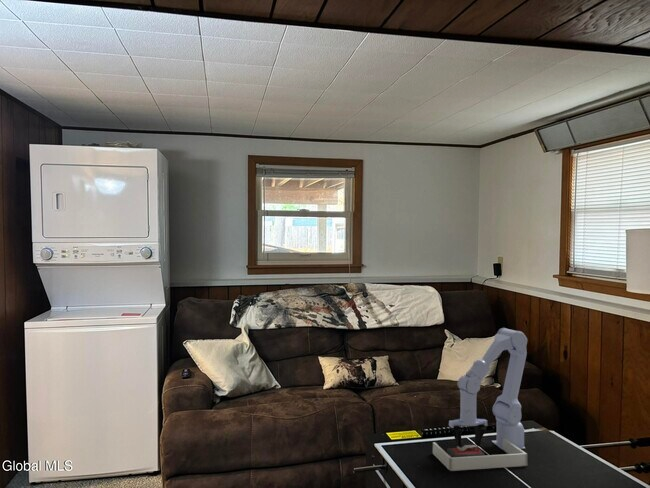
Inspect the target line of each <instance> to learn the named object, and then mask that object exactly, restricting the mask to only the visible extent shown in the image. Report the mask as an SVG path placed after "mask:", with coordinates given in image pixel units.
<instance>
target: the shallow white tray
mask: <svg viewBox="0 0 650 488" xmlns="http://www.w3.org/2000/svg"><path fill="white" fill-rule="evenodd" d="M503 448H504V450H503V451H504V452H505V454H503V453H502V454H491V455H490V454H489V455H488V454H487V455H485V454H484V456H469V457H452V458H451V457H450V456H449V455H448V454H447V451H445V450H444V448H442V447H441V446H439V444H438V443H437V442H436V441H434V442H432V455H433V456H435V458H436V459H438V460H439V461H440V463H441V464H443V466H444V467H446V468H447V470H449V471H450V472H456V471H457V472H458V471H468V470H482V469H483V470H485V469H487V470H488V469H497V468H499V469H500V468H502V469H503V468H513V467H514V468H515V467H516V468H517V467H528V453H527V452H525V451H524V450H523V449H519V448H518V447H516V446H515V445H513V444H512V443H511V442H509V441H508V440H506V439H503Z"/></svg>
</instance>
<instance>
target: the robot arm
mask: <svg viewBox="0 0 650 488" xmlns="http://www.w3.org/2000/svg"><path fill="white" fill-rule="evenodd" d="M527 344H528V338H527V336H526V335H525V333H524V332H523V331H520V330H514V329H509V328H506V327H502V328H499V329H498V331H497V333H496V334H495V335H494V340H493V342H492V343H491V345H490V346H489V348H488V349H487V350H486V352H485V353H484V355H483V356H482V357H481V359H476V360H474V361H473V363H472V366H471V367H470V368H469V369H468V371H466V372H465V374H463V375H461V376H460V377H459V379H458V380H457V382H456V385H457V387H458V389H459V393H460V399H459V400H460V403H459V405H460V415H459V418H457V419H453V420H448V426H449V427H450V429H451V432H452V434H453V436H454V440H455V446H456V447H457V446H459V447H460V448H462V447H461V446H462V434H463V430H462V429H461V427H464V428H465V427H473V429H474V445H475V446H477V447H481V443H482V439H483V436H484V435H485V433H486V432H487V427H488V420H487V419H485V418H477V395H478V394H477V393H478V392H479V391H480V389H481V385H482V381H483V380H484V379H485V377H486V376H487V375H488V374H489V372H490V371H491V367H490V366H491V364H492V363H493V362H494V361H495V359H497V358H498V357H499V356H500V354H501V353H502V352H503V351H508V353H509V354H510V355H509V356H510V357H509V360H508V366H507V370H506V376H505V379H504V384H503V388H502V394H500V395H498V396H497V397H496V399H495V402H494V404H493V406H492V409H491V410H492V414H493V415H494V416H495V420H496V438H495V439H496V440H491V443H492V444H494V445H496V447H498V448H499V449H501V450H502V451H504V448H503V439H506V440H508V441H509V442H511V443H512V444H513V445H515V446H516V447H518V448H519V449H521V450H523V449H526V447H525V429H524V426H523V424H522V423H521V420H522V405H521V403H520V402H519V399H518V396H519V393H520V387H521V382H522V378H523V373H524V369H525V364H526V359H527V354H528V352H527Z"/></svg>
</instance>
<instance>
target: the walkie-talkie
mask: <svg viewBox="0 0 650 488" xmlns="http://www.w3.org/2000/svg"><path fill="white" fill-rule="evenodd" d="M446 450H447V451H446V453H447V454H448V455H449V456H450V457H451V458H452V457H469V456H485V453H484V452H483V451H482V450H481V448H479V446H477V445H475V444H463V446H462V447H461V448H460V447H459V446H456V447H448V448H446Z"/></svg>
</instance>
